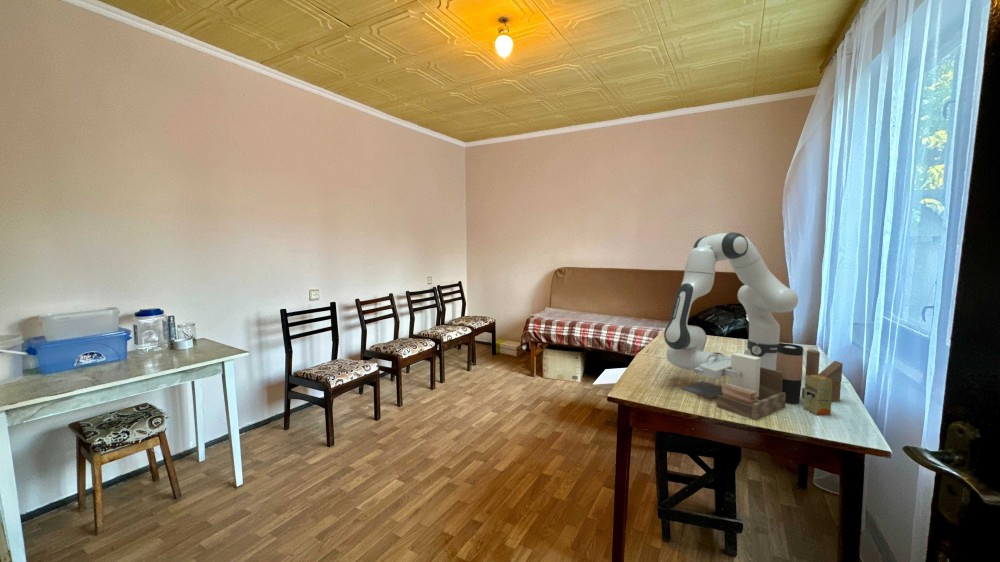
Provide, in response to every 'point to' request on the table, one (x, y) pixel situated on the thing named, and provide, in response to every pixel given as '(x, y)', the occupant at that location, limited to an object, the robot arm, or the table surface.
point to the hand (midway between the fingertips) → (744, 373)
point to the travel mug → (790, 370)
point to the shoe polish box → (818, 394)
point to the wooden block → (824, 372)
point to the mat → (704, 389)
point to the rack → (768, 397)
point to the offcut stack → (739, 394)
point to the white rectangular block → (746, 371)
